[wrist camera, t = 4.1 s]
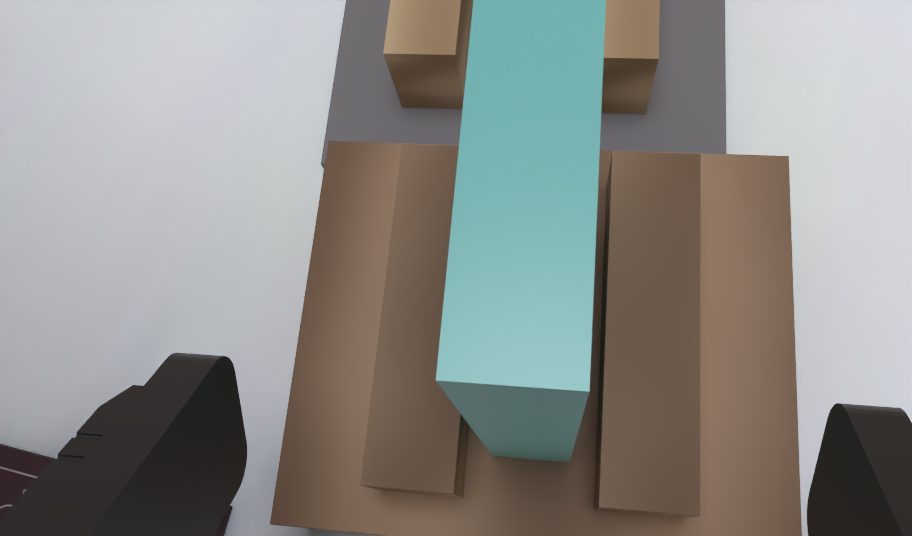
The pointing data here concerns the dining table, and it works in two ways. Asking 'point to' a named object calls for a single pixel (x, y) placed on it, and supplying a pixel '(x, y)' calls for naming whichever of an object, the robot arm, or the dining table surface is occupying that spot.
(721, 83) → the mat
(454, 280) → the teal rectangular pillar
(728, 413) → the brown wooden stand
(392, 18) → the rack
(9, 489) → the chocolate bar
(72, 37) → the dining table surface
